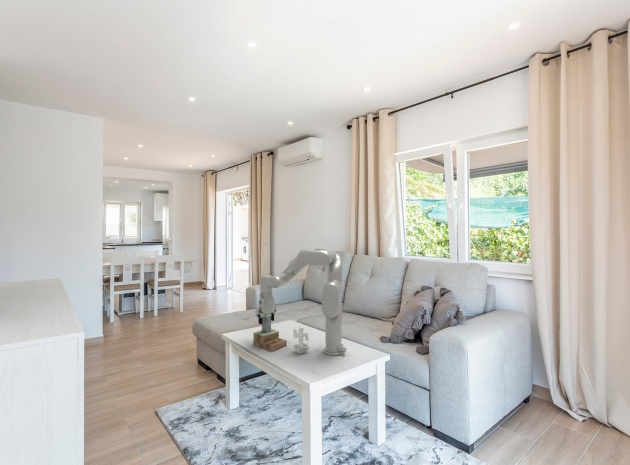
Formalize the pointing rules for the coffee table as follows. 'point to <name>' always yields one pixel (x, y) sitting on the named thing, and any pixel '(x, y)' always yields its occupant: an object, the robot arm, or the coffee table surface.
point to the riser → (269, 340)
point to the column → (266, 323)
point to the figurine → (300, 340)
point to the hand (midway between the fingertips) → (266, 322)
